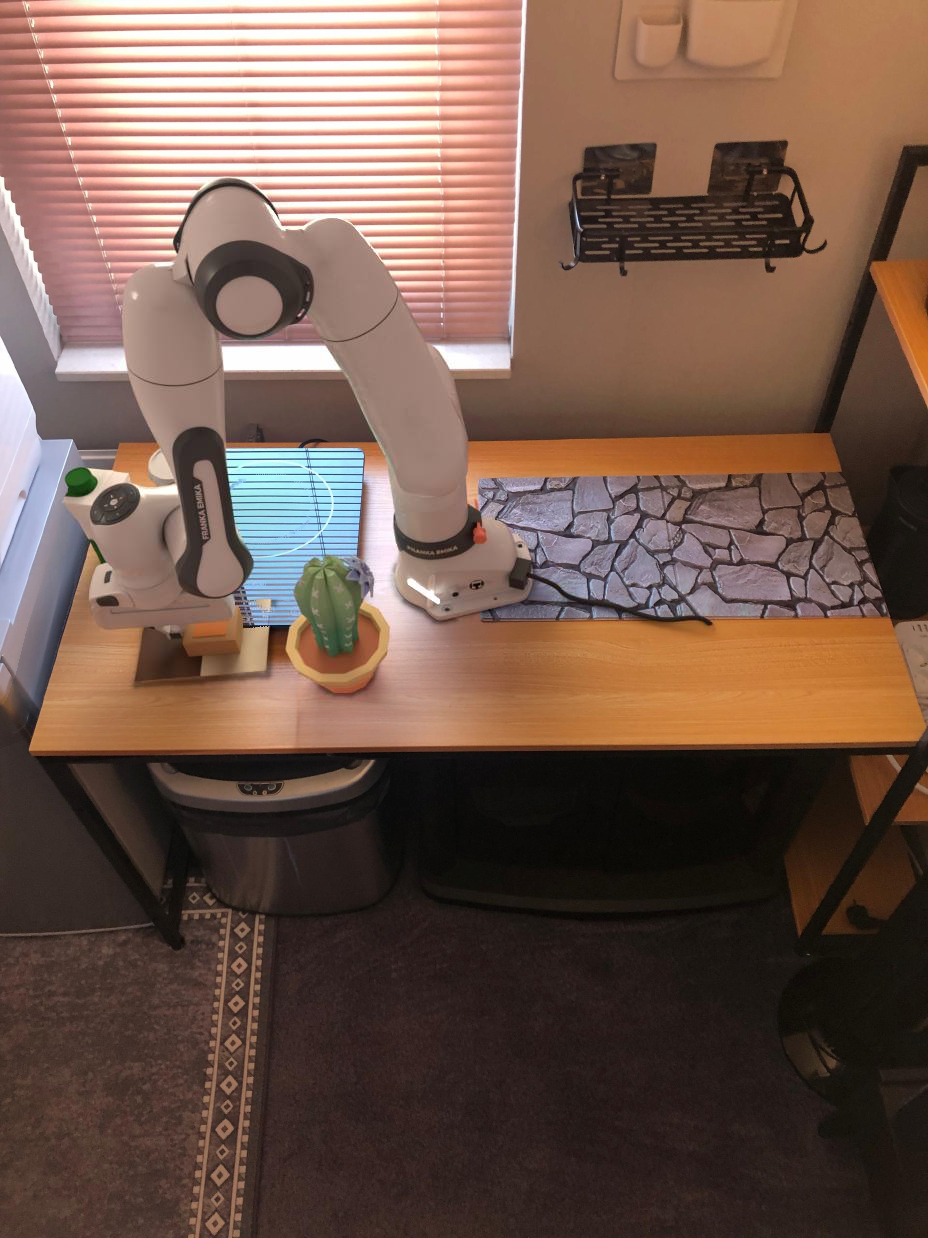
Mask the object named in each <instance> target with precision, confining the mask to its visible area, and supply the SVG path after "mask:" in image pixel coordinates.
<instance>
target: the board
mask: <svg viewBox="0 0 928 1238" xmlns="http://www.w3.org/2000/svg"><path fill="white" fill-rule="evenodd" d="M248 600H249V602H248V603H250V600H251V599H248ZM253 600H254V601H253V602H257V603H256V605H260V606H259V608H260V610H261V605H262V607H263V609H262V610H266V609H267V610H269V611H268V612H270V613H269V615H270V616H271V605H272V598H270V597H269V598H259V600H258V599H253ZM255 600H256V601H255ZM251 602H252V601H251ZM246 603H247V602H246ZM258 603H259V604H258ZM243 604H244V603H243ZM251 605H252V604H251ZM254 605H255V603H254ZM257 607H258V606H257ZM264 607H266V608H265V609H264ZM267 607H268V608H267ZM263 613H264V611H263ZM263 617H264V615H263ZM265 617H266V616H265ZM269 635H270V625H269V626H268V627H267V626H265V627H264V626H263V627H261V626H260V627H255V628H254V627H253V628H243V633H242V643H241V652H240V653H232V654H219V655H205V656H192V657H189V656H188V654H187V652H186V650H185V648H184V646H183V638H180V639H168V638H167V636H166V634H164V633H162V632H160V631H159V630H157V629H151V628H149V627H143V630H142V636H141V640H140V641H141V642H140V646H139V647H140V648H139V654H138V659H137V665H136V671H135V677H134V682H144V681H157V680H159V681H160V680H168V679H169V680H170V679H182V678H195V677H207V676H221V675H231V674H232V675H233V674H243V673H257V672H266V671H267V663H268V662H267V661H268V649H269V648H268V647H269Z"/></svg>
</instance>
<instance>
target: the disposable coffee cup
mask: <svg viewBox="0 0 928 1238" xmlns="http://www.w3.org/2000/svg"><path fill="white" fill-rule="evenodd" d="M147 464H148V465H147V475H148V477H149V479H150V481H151V482H152V483H153V484H155V485H156V487H158V486H166V485H168V484H170V483H173V482H175V480H174V477H173V475H172V472H171V470H170V468H169V465H168V463H167V461H166V459H165V457H164V455H163V453H162V451H161V449H160V448H159V449H157V450H156V451H155V452H153V454H152V455H151V456H150V458H149V460H148V463H147Z"/></svg>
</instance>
